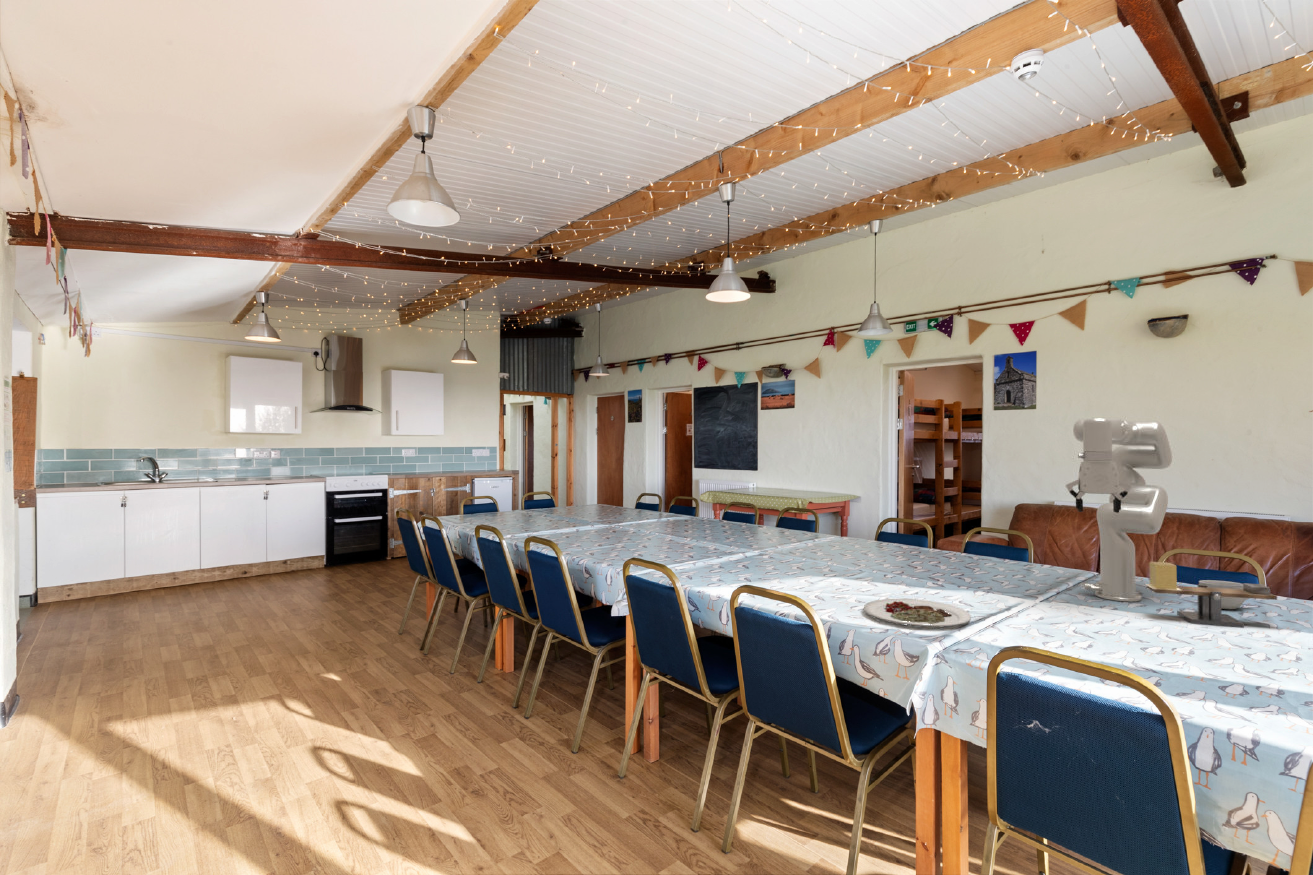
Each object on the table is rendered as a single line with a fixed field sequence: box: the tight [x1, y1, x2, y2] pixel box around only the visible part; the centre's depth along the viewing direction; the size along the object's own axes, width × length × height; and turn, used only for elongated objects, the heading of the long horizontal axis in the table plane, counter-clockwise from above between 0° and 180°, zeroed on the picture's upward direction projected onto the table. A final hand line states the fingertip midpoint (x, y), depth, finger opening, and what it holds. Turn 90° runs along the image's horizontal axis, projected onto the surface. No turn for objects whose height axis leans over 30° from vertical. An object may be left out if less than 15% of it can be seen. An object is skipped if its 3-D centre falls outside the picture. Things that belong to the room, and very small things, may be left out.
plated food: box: [863, 598, 972, 628], centre depth 194 cm, size 30×30×3 cm
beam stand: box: [1176, 584, 1245, 629], centre depth 188 cm, size 12×11×10 cm
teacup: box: [1198, 579, 1250, 610], centre depth 202 cm, size 14×11×8 cm
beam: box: [1145, 582, 1278, 601], centre depth 188 cm, size 28×7×3 cm, turn 69°
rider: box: [1149, 561, 1178, 590], centre depth 192 cm, size 5×5×7 cm
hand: (1098, 511), depth 203 cm, fingers open, 9 cm apart
